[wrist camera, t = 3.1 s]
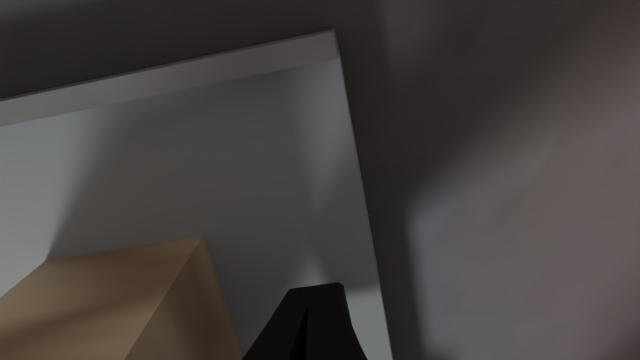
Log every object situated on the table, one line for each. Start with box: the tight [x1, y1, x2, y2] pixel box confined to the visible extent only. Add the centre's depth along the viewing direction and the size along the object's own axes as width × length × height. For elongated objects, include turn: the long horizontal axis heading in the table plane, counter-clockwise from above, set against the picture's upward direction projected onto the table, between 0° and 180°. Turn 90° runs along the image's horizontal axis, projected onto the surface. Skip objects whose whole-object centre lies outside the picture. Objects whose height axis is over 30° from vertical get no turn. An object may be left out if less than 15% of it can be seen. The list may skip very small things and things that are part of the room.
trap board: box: [0, 28, 394, 360], centre depth 12 cm, size 22×13×4 cm, turn 101°
